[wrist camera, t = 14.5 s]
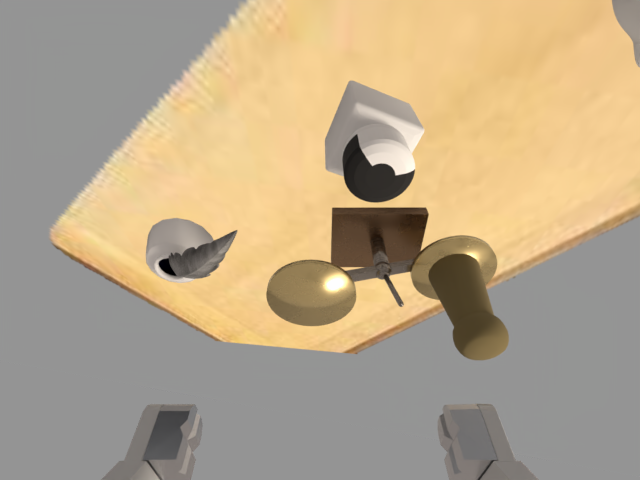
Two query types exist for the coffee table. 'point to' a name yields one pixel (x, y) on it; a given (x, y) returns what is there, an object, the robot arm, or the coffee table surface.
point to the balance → (366, 263)
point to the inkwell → (184, 250)
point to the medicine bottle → (373, 143)
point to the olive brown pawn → (468, 307)
